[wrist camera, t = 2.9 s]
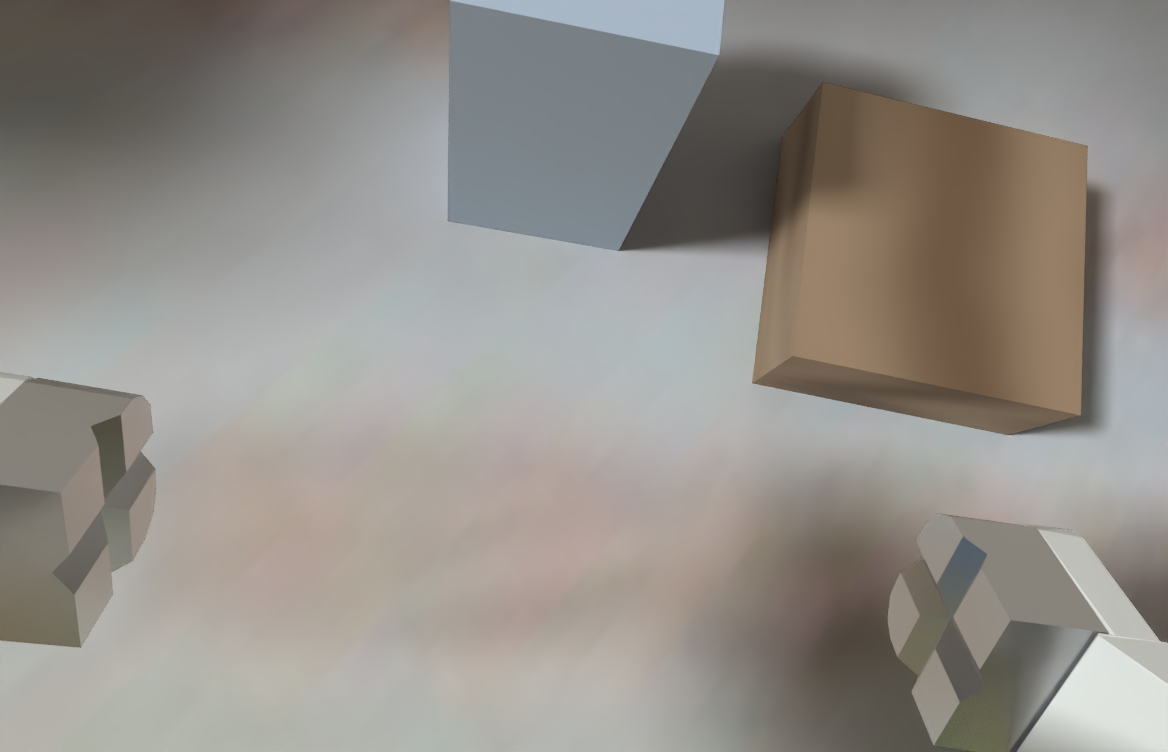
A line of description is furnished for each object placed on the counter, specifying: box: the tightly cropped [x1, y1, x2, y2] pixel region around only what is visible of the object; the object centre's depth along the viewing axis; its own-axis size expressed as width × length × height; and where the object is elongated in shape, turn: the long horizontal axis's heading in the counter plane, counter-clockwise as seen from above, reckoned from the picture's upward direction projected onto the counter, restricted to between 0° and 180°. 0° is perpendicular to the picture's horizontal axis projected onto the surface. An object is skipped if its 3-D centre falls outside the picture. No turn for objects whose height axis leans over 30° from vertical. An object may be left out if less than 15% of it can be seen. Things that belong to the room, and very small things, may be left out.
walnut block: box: [752, 82, 1088, 435], centre depth 26 cm, size 8×8×4 cm
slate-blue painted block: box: [448, 0, 725, 251], centre depth 22 cm, size 5×5×10 cm
